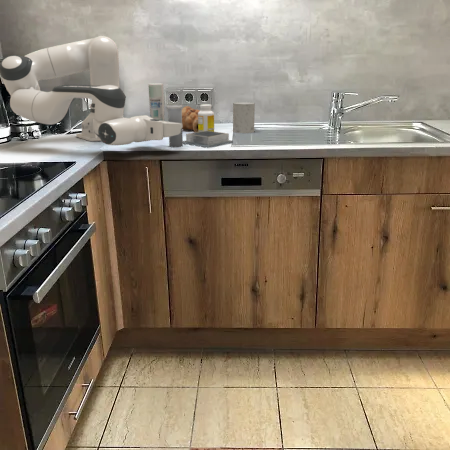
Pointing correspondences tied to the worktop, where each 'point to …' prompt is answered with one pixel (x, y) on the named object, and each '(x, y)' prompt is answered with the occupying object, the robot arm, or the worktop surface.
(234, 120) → the grey cylinder
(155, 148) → the worktop surface
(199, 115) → the supplement bottle
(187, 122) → the orange brown lumpy figure
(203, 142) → the grey square tray
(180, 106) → the post
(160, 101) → the spray can
